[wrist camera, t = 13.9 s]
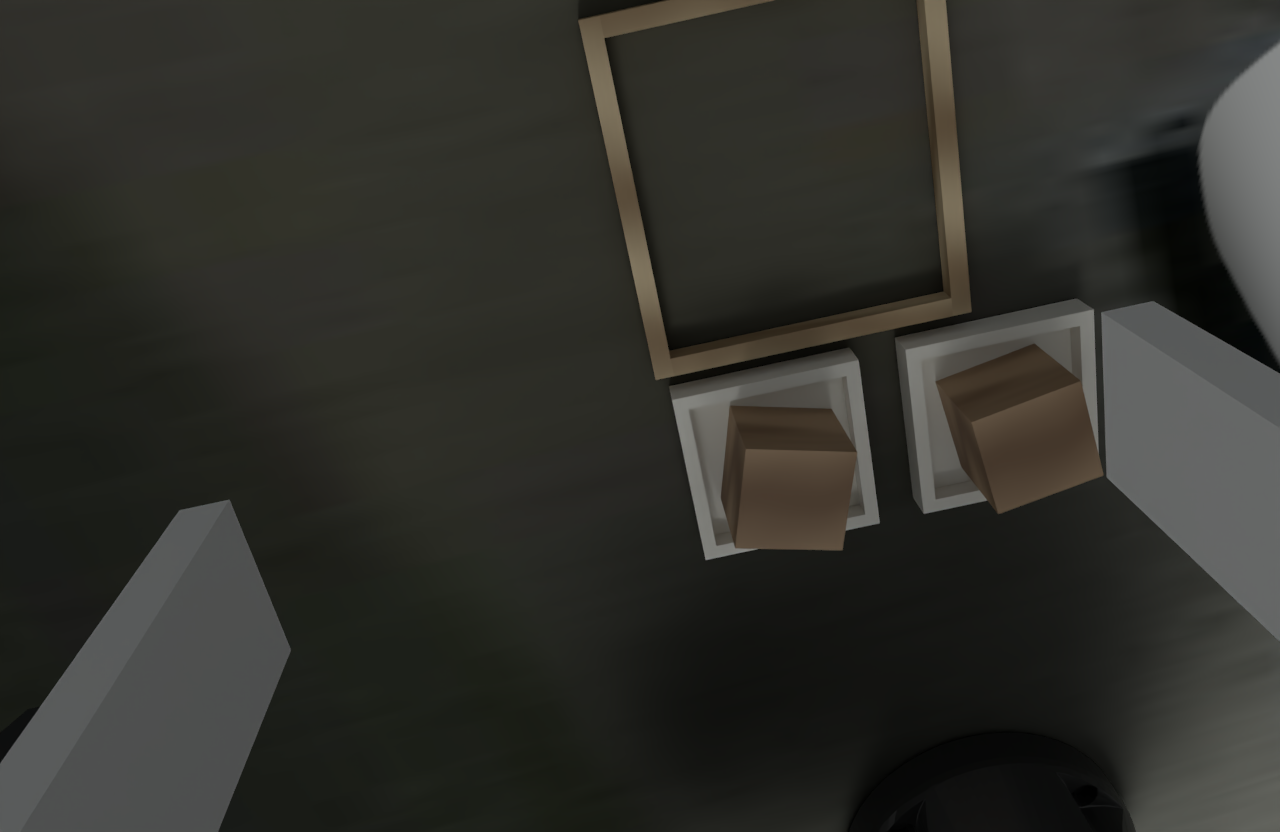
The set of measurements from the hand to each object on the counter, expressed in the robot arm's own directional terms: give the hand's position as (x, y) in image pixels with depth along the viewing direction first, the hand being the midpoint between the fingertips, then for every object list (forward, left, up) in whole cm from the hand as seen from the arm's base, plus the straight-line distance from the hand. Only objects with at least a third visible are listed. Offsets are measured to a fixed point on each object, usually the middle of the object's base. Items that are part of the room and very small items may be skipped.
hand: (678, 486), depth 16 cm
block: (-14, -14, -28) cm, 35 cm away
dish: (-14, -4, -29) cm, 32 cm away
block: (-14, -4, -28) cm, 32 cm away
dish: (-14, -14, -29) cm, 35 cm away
